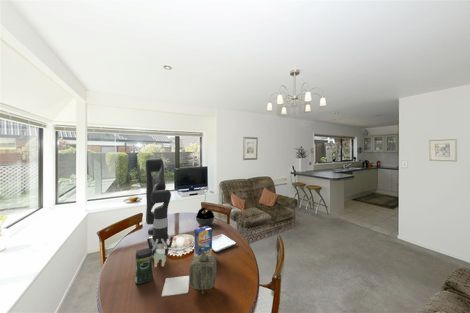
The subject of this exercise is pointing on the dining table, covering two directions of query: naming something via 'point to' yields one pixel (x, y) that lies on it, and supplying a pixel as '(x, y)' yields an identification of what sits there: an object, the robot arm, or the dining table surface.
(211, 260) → the tabletop clock
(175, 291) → the mat
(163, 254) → the cube with two prongs
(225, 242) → the salad plate
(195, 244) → the beverage box
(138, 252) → the coffee jar
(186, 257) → the dining table surface
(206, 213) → the coal bowl
